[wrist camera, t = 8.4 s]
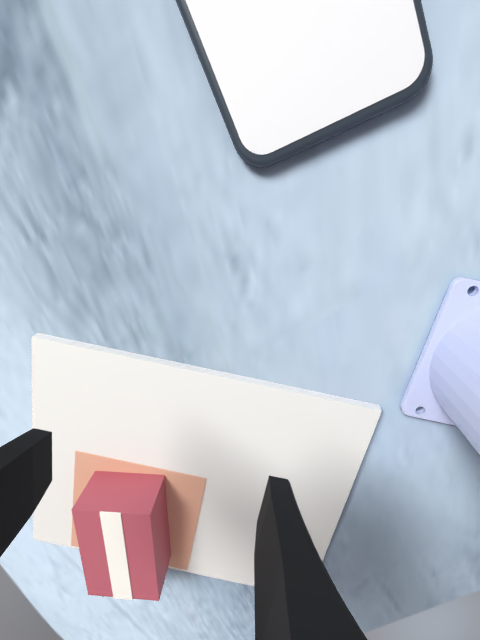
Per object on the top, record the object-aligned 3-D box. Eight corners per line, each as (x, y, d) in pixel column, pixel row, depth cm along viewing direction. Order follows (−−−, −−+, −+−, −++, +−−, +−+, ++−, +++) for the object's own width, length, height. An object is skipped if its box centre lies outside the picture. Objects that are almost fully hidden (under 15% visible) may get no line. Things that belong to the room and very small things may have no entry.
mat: (379, 404, 21) (382, 411, 20) (307, 589, 26) (308, 598, 26) (38, 332, 21) (30, 337, 20) (37, 531, 27) (32, 540, 26)
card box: (171, 554, 25) (158, 602, 22) (108, 550, 26) (87, 596, 23) (164, 474, 23) (149, 516, 20) (95, 470, 23) (70, 510, 20)
